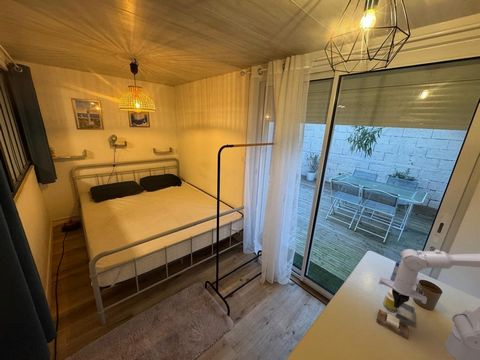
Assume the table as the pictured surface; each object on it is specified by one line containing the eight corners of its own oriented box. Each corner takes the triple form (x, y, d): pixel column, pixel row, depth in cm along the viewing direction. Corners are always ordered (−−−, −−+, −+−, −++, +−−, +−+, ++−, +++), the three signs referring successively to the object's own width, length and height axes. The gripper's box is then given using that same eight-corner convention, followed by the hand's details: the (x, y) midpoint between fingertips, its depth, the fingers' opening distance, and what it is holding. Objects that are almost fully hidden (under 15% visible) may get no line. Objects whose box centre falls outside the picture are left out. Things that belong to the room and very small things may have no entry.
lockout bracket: (413, 312, 89) (414, 307, 88) (413, 327, 82) (415, 322, 81) (396, 304, 92) (397, 299, 92) (395, 317, 86) (396, 313, 85)
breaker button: (397, 323, 82) (399, 319, 82) (397, 331, 79) (399, 326, 79) (386, 317, 85) (387, 313, 84) (385, 324, 82) (386, 319, 81)
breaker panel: (406, 327, 81) (408, 323, 81) (406, 339, 77) (408, 334, 76) (378, 312, 87) (379, 308, 87) (376, 322, 83) (377, 317, 82)
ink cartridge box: (400, 288, 102) (407, 264, 98) (389, 280, 107) (396, 257, 103) (412, 284, 105) (420, 261, 101) (401, 276, 110) (408, 254, 106)
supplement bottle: (397, 313, 88) (402, 298, 86) (385, 310, 89) (390, 295, 86) (391, 304, 92) (396, 289, 90) (380, 301, 93) (385, 287, 91)
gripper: (429, 282, 75) (419, 310, 79) (383, 264, 84) (376, 290, 88) (431, 294, 70) (419, 323, 73) (382, 273, 79) (374, 300, 82)
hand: (396, 306), depth 80 cm, fingers closed
